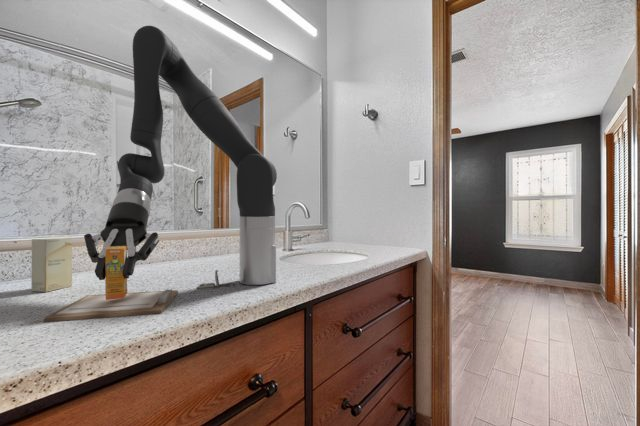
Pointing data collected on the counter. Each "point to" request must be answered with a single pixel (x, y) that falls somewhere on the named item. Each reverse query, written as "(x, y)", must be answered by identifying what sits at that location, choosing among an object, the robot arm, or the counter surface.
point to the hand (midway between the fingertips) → (113, 276)
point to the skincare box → (51, 264)
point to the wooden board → (115, 306)
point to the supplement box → (115, 272)
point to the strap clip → (212, 285)
